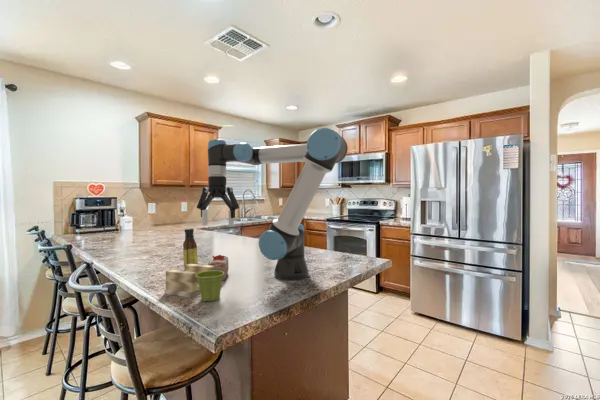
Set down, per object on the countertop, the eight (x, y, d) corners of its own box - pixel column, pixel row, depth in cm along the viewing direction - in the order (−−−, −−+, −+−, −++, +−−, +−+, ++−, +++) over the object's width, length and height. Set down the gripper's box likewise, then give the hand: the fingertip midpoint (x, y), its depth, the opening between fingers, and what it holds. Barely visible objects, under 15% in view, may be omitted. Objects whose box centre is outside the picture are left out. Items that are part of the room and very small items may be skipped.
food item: (226, 281, 120) (226, 258, 120) (206, 282, 119) (206, 258, 119) (229, 273, 134) (229, 251, 134) (211, 274, 133) (211, 252, 132)
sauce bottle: (200, 268, 143) (199, 227, 143) (194, 271, 137) (193, 229, 136) (187, 268, 144) (186, 227, 143) (180, 271, 137) (180, 229, 137)
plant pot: (191, 298, 100) (190, 273, 100) (216, 292, 107) (215, 268, 107) (203, 305, 94) (203, 279, 94) (229, 298, 100) (229, 273, 100)
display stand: (215, 285, 115) (215, 265, 115) (190, 297, 102) (190, 274, 102) (191, 282, 119) (190, 263, 119) (164, 293, 106) (164, 271, 106)
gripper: (247, 175, 125) (247, 225, 125) (199, 177, 134) (200, 223, 134) (237, 174, 118) (237, 227, 118) (187, 176, 126) (188, 225, 127)
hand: (217, 225), depth 126 cm, fingers open, 13 cm apart
